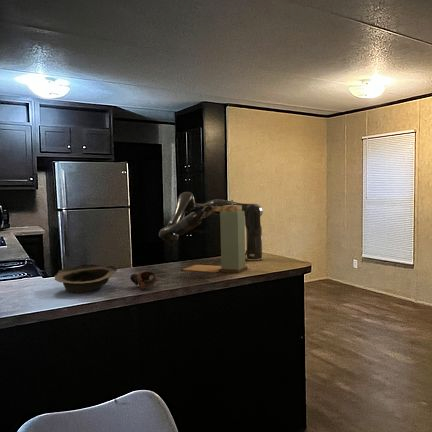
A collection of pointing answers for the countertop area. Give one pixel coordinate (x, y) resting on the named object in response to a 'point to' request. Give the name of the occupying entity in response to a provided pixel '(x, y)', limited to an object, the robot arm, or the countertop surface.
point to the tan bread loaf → (227, 208)
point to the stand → (232, 242)
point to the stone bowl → (84, 277)
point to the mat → (203, 268)
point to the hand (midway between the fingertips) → (214, 206)
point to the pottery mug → (143, 279)
